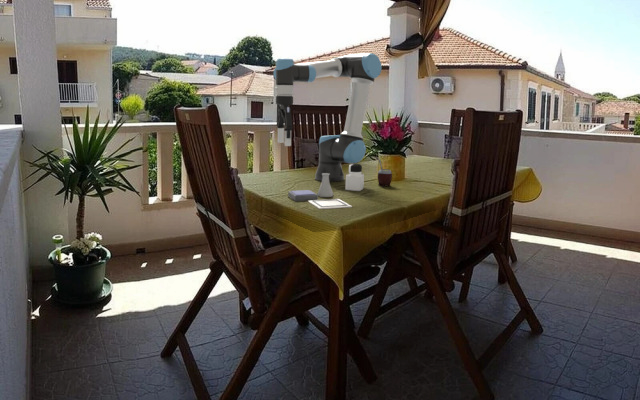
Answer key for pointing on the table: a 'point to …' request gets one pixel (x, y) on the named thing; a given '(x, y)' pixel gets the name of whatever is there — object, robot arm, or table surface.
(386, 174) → the mate gourd
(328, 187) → the flask
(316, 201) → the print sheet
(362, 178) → the medicine bottle
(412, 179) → the table surface
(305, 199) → the pad
